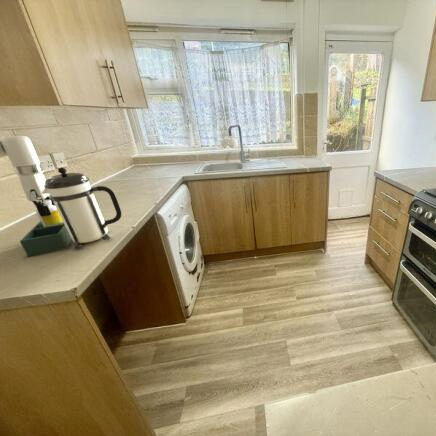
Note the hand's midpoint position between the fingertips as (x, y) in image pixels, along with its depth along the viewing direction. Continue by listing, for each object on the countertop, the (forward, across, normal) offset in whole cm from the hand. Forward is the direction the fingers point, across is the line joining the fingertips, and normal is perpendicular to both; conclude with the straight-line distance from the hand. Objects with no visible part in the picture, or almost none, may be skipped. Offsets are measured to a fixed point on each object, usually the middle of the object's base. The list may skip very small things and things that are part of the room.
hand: (49, 212), depth 101 cm
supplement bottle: (+8, 0, 0) cm, 8 cm away
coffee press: (+11, +12, +15) cm, 22 cm away
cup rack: (+11, +5, 0) cm, 12 cm away
